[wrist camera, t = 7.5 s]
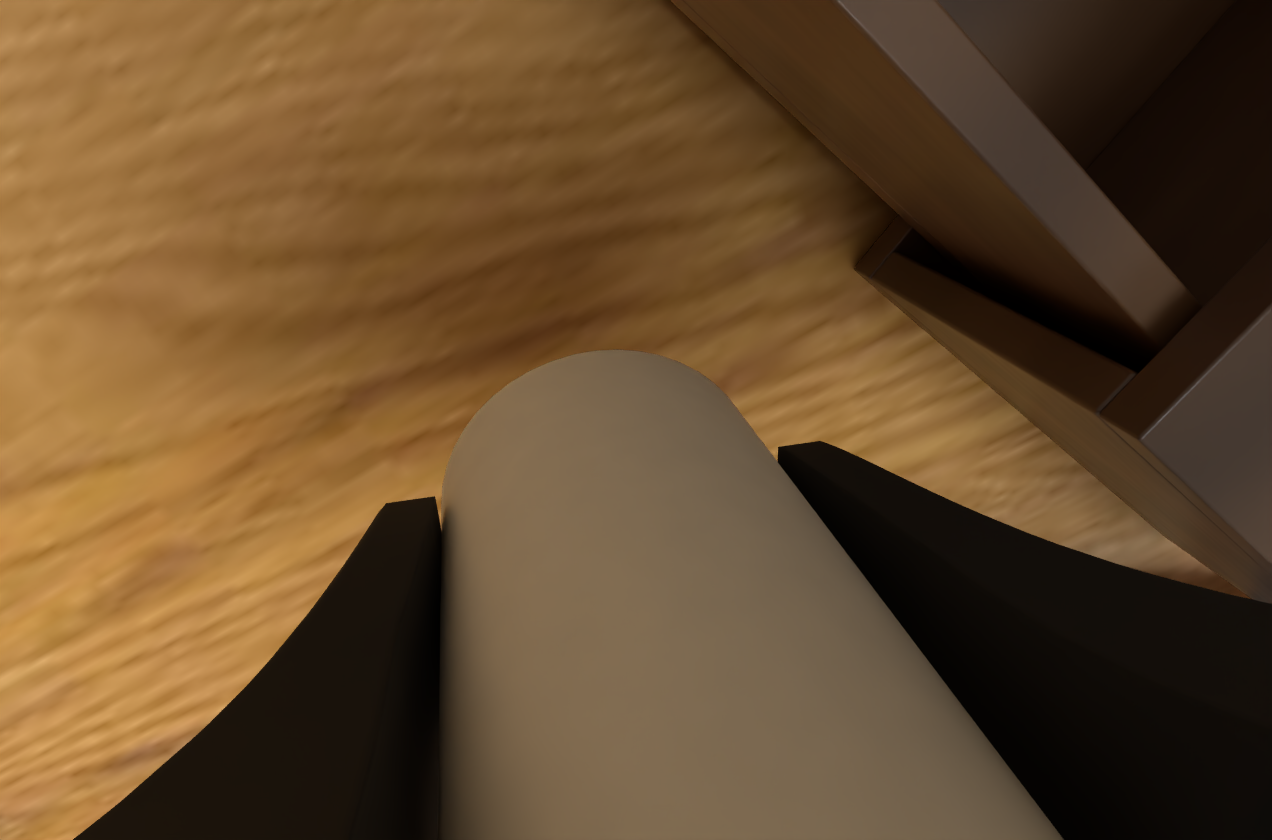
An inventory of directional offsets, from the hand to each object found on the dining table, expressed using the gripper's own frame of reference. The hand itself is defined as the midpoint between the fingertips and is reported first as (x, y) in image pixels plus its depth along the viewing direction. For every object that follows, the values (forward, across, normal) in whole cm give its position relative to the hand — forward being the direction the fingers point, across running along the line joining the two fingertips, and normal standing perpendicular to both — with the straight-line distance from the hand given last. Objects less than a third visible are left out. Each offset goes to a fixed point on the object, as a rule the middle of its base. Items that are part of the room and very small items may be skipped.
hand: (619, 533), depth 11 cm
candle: (+1, 0, 0) cm, 1 cm away
